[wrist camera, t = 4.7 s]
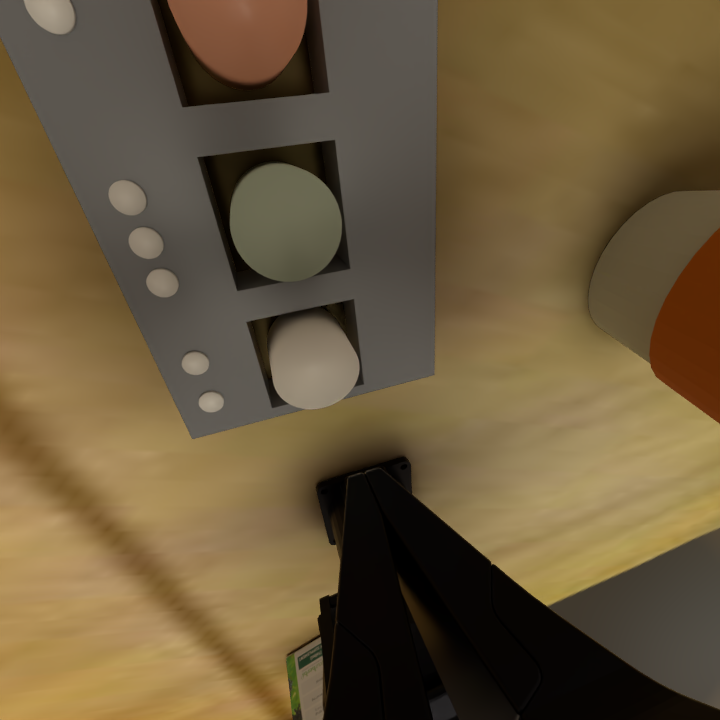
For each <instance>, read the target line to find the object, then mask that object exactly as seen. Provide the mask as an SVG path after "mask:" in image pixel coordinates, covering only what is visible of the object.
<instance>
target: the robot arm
mask: <svg viewBox="0 0 720 720" xmlns="http://www.w3.org/2000/svg"><path fill="white" fill-rule="evenodd" d="M316 491H317V495H318V499H319V503H320V507H321V511H322V515H323V519H324V523H325V527H326V531H327V535H328V539H329V543H330V544H331V545H336V546H337V550H338V554H339V558H340V573H339V585H338V593H336V594H334V595H332V596H329V595H327V596H325V597H323V598H320V610H321V615H319V617H318V618H317V619H318V625H319V631H320V636H321V645H322V656H323V711H324V715H323V720H720V709H717V708H715V707H712V706H710V705H707V704H705V703H702V702H700V701H697V700H695V699H692V698H689V697H687V696H685V695H682V694H680V693H678V692H676V691H674V690H672V689H669V688H668V687H666V686H664V685H662V684H660V683H658V682H656V681H655V680H653V679H651V678H650V677H648V676H646V675H644V674H643V673H641V672H640V671H638V670H637V669H635V668H634V667H632V666H631V665H629V664H628V663H626V662H625V661H624V660H622V659H621V658H619V657H618V656H616V655H615V654H614V653H612V652H610V651H609V650H608V649H607V648H605V647H604V646H602V645H601V644H599V643H598V642H597V641H595V640H594V639H592V638H591V637H589V636H588V635H586V634H585V633H584V632H582V631H581V630H579V629H578V628H577V627H575V626H574V625H572V624H571V623H569V622H568V621H567V620H565V619H564V618H562V617H561V616H559V615H558V614H557V613H555V612H554V611H552V610H551V609H550V608H548V607H547V606H546V605H544V604H543V603H542V602H540V601H539V600H538V599H536V598H535V597H533V596H532V595H531V594H530V593H528V592H527V591H526V590H525V589H523V588H522V587H521V586H520V585H518V584H517V583H516V582H515V581H514V580H512V579H511V578H510V577H509V576H507V575H506V574H505V573H504V572H503V571H502V570H500V569H499V568H498V567H497V566H496V565H494V564H492V566H491V561H490V560H488V559H487V558H486V557H485V556H484V555H483V554H481V553H480V552H479V551H478V550H477V549H476V548H474V547H473V546H472V545H471V544H470V543H468V542H467V541H466V540H465V539H464V538H463V537H461V536H460V535H459V534H458V533H457V532H456V531H454V530H453V529H452V528H451V527H450V526H448V525H447V524H446V523H445V522H444V521H443V520H441V519H440V518H439V517H438V516H437V515H436V514H434V513H433V512H432V511H431V510H430V509H429V508H427V507H426V506H425V505H424V504H423V503H421V502H420V501H419V500H418V499H417V498H416V497H414V496H413V495H412V485H411V464H410V462H409V460H408V459H407V458H406V457H402V458H398V459H395V460H392V461H389V462H385V463H382V464H379V465H375V466H372V467H369V468H366V469H362V470H359V471H356V472H353V473H349V474H346V475H343V476H340V477H336V478H333V479H330V480H326V481H323V482H321V483H319V484H318V485H317V486H316Z"/></svg>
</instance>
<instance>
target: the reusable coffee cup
mask: <svg viewBox="0 0 720 720" xmlns="http://www.w3.org/2000/svg"><path fill="white" fill-rule="evenodd" d="M588 307H589V311H590V315H591V318H592V319H593V321H594V322H595V324H596V325H597V326H598V327H600V328H601V329H602V330H604V331H605V332H606V333H608V334H609V335H611V336H612V337H613V338H615V339H616V340H618V341H619V342H621V343H622V344H623V345H625V346H626V347H628V348H629V349H630V350H632V351H633V352H635V353H636V354H638V355H639V356H640V357H642V358H643V359H645V360H646V361H647V362H649V363H650V364H651V368H652V370H653V372H654V374H655V375H656V377H657V378H658V379H660V380H661V381H662V382H663V383H665V384H666V385H667V386H669V387H670V388H672V389H673V390H674V391H676V392H677V393H678V394H680V395H681V396H683V397H684V398H685V399H687V400H688V401H689V402H691V403H692V404H693V405H695V406H696V407H698V408H699V409H700V410H702V411H703V412H704V413H706V414H707V415H709V416H710V417H711V418H713V419H714V420H715V421H717V422H718V423H719V424H720V190H708V191H678V192H672V193H669V194H666V195H663V196H660V197H659V198H657V199H655V200H653V201H651V202H649V203H648V204H646V205H645V206H644V207H642V208H641V209H640V210H638V211H637V212H636V213H634V214H633V215H632V216H631V217H630V218H629V219H628V220H627V221H626V222H625V223H624V224H623V225H622V226H621V228H620V229H619V230H618V231H617V232H616V234H615V235H614V236H613V237H612V239H611V240H610V242H609V243H608V245H607V246H606V248H605V250H604V251H603V253H602V255H601V257H600V259H599V261H598V263H597V265H596V267H595V270H594V273H593V276H592V279H591V282H590V287H589V294H588Z"/></svg>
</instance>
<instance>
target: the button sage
mask: <svg viewBox="0 0 720 720" xmlns="http://www.w3.org/2000/svg"><path fill="white" fill-rule="evenodd" d="M230 231H231V235H232V239H233V242H234V245H235V247H236V249H237V251H238V253H239V254H240V256H241V257H242V259H243V260H244V261H245V262H246V263H247V264H248V265H249V266H250V267H251V268H252V269H253V270H255V271H256V272H258V273H259V274H261V275H263V276H265V277H267V278H270V279H273V280H277V281H283V282H294V281H300V280H304V279H307V278H309V277H312V276H314V275H315V274H317V273H319V272H320V271H321V270H323V269H324V268H325V267H326V266H327V265H328V264H329V262H330V261H331V260H332V258H333V257H334V255H335V253H336V251H337V249H338V246H339V243H340V239H341V234H342V219H341V214H340V210H339V206H338V204H337V202H336V199H335V197H334V196H333V194H332V192H331V191H330V190H329V188H328V187H327V186H326V185H325V184H324V183H323V182H322V181H321V180H320V179H319V178H317V177H316V176H315V175H313V174H311V173H310V172H308V171H306V170H303V169H301V168H298V167H296V166H293V165H291V164H288V163H284V162H277V161H271V162H264V163H260V164H258V165H255V166H254V167H252V168H250V169H249V170H248V171H246V172H245V173H244V174H243V175H242V176H241V177H240V179H239V180H238V182H237V183H236V185H235V187H234V190H233V193H232V197H231V206H230Z"/></svg>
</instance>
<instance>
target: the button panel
mask: <svg viewBox="0 0 720 720" xmlns="http://www.w3.org/2000/svg"><path fill="white" fill-rule="evenodd" d="M437 7H438V0H307V18H306V25H305V29H306V37H307V44H308V51H309V59H310V66H311V73H312V80H313V88H314V94H310V95H300V96H290V97H280V98H270V99H261V100H251V101H241V102H231V103H221V104H211V105H201V106H191V107H189V106H188V103H187V99H186V96H185V93H184V89H183V86H182V82H181V79H180V75H179V72H178V68H177V65H176V62H175V58H174V55H173V51H172V48H171V44H170V41H169V38H168V34H167V31H166V27H165V24H164V20H163V17H162V13H161V10H160V7H159V3H158V0H0V38H1V40H2V42H3V44H4V46H5V48H6V50H7V52H8V54H9V56H10V59H11V61H12V63H13V65H14V67H15V69H16V71H17V73H18V75H19V77H20V79H21V82H22V84H23V86H24V88H25V90H26V92H27V94H28V96H29V98H30V100H31V102H32V105H33V107H34V109H35V111H36V113H37V115H38V117H39V119H40V121H41V123H42V125H43V128H44V130H45V132H46V134H47V136H48V138H49V140H50V142H51V144H52V146H53V149H54V151H55V153H56V155H57V157H58V159H59V161H60V163H61V165H62V167H63V169H64V172H65V174H66V176H67V178H68V180H69V182H70V184H71V186H72V188H73V190H74V192H75V195H76V197H77V199H78V201H79V203H80V205H81V207H82V209H83V211H84V213H85V215H86V218H87V220H88V222H89V224H90V226H91V228H92V230H93V232H94V234H95V236H96V238H97V241H98V243H99V245H100V247H101V249H102V251H103V253H104V255H105V257H106V259H107V261H108V264H109V266H110V268H111V270H112V272H113V274H114V276H115V278H116V280H117V282H118V285H119V287H120V289H121V291H122V293H123V295H124V297H125V299H126V301H127V303H128V305H129V308H130V310H131V312H132V314H133V316H134V318H135V320H136V322H137V324H138V326H139V328H140V331H141V333H142V335H143V337H144V339H145V341H146V343H147V345H148V347H149V349H150V351H151V354H152V356H153V358H154V360H155V362H156V364H157V366H158V368H159V370H160V372H161V374H162V377H163V379H164V381H165V383H166V385H167V387H168V389H169V391H170V393H171V395H172V398H173V400H174V402H175V404H176V406H177V408H178V410H179V412H180V414H181V416H182V418H183V421H184V423H185V425H186V427H187V429H188V431H189V433H190V435H191V437H192V439H195V438H199V437H202V436H206V435H210V434H214V433H217V432H221V431H225V430H229V429H233V428H236V427H240V426H244V425H248V424H251V423H255V422H259V421H263V420H266V419H270V418H274V417H278V416H282V415H285V414H289V413H293V412H297V411H300V410H304V409H302V408H297V407H295V406H292V405H290V404H288V403H287V402H285V401H284V400H283V399H282V398H281V397H280V396H279V395H278V393H277V391H276V390H275V387H274V384H273V379H269V380H268V378H267V375H266V371H265V368H264V364H263V361H262V357H261V354H260V351H259V347H258V344H257V340H256V337H255V333H254V330H253V326H252V323H251V321H253V320H257V319H262V318H267V317H271V316H276V315H281V314H286V313H290V312H295V311H300V310H304V309H309V308H314V307H318V306H323V305H328V304H332V303H337V302H342V301H343V307H344V314H345V322H346V329H347V336H348V340H349V342H350V344H351V345H352V347H353V349H354V351H355V352H356V354H357V357H358V360H359V375H358V379H357V381H356V383H355V385H354V387H353V388H352V390H351V391H350V392H349V393H348V394H347V395H346V396H345V397H344V398H343V399H346V398H349V397H353V396H357V395H361V394H364V393H368V392H372V391H376V390H380V389H383V388H387V387H391V386H395V385H398V384H402V383H406V382H410V381H413V380H417V379H421V378H425V377H429V376H432V375H434V356H435V240H436V124H437ZM314 142H321V146H322V154H323V161H324V168H325V175H326V183H327V187H328V188H329V190H330V191H331V192H332V194H333V196H334V197H335V199H336V202H337V204H338V206H339V210H340V214H341V219H342V234H341V239H340V243H339V246H338V249H337V251H336V254H335V255H334V257H333V258H332V260H331V261H330V262H329V264H328V265H327V266H326V267H325V268H324V269H323V270H321V271H320V272H319V273H317V274H315V275H314V276H312V277H309V278H307V279H304V280H300V281H294V282H283V281H277V280H273V279H270V278H267V277H265V276H263V275H261V274H259V273H258V272H256V271H255V270H253V269H250V270H245V271H240V272H237V271H236V268H235V265H234V261H233V258H232V254H231V251H230V247H229V244H228V240H227V237H226V234H225V230H224V227H223V223H222V220H221V216H220V213H219V209H218V206H217V203H216V199H215V196H214V192H213V189H212V185H211V182H210V179H209V175H208V172H207V168H206V165H205V161H204V158H203V156H211V155H219V154H227V153H234V152H242V151H250V150H258V149H266V148H274V147H282V146H290V145H298V144H306V143H314ZM341 400H342V399H341Z"/></svg>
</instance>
